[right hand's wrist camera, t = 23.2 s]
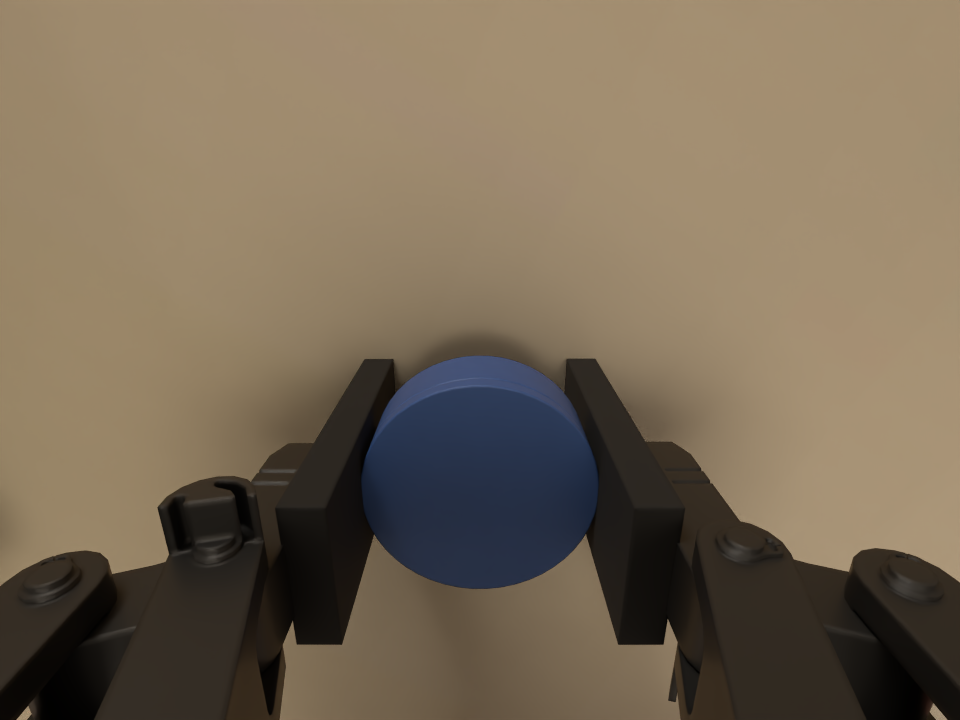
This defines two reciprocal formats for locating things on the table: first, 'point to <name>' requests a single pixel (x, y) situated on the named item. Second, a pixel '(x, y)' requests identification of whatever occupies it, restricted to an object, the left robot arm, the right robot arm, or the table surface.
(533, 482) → the lid
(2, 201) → the table surface
